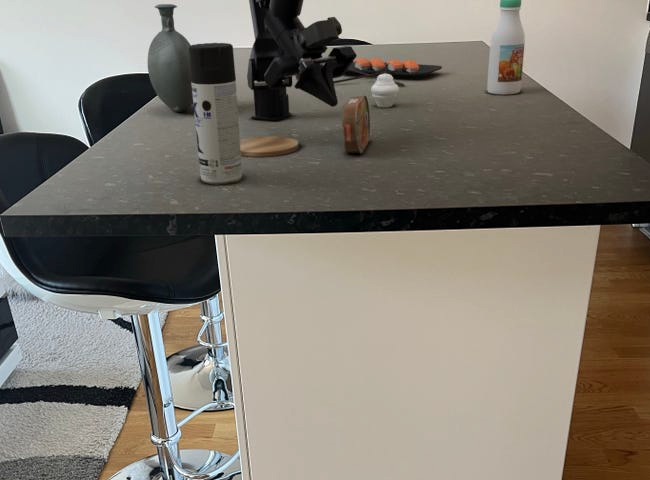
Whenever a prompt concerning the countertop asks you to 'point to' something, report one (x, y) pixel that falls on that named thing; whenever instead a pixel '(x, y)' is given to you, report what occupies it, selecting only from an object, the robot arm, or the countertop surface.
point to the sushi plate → (388, 69)
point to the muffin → (384, 90)
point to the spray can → (216, 112)
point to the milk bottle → (506, 51)
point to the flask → (170, 63)
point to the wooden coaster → (267, 146)
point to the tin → (356, 124)
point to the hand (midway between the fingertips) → (335, 104)
